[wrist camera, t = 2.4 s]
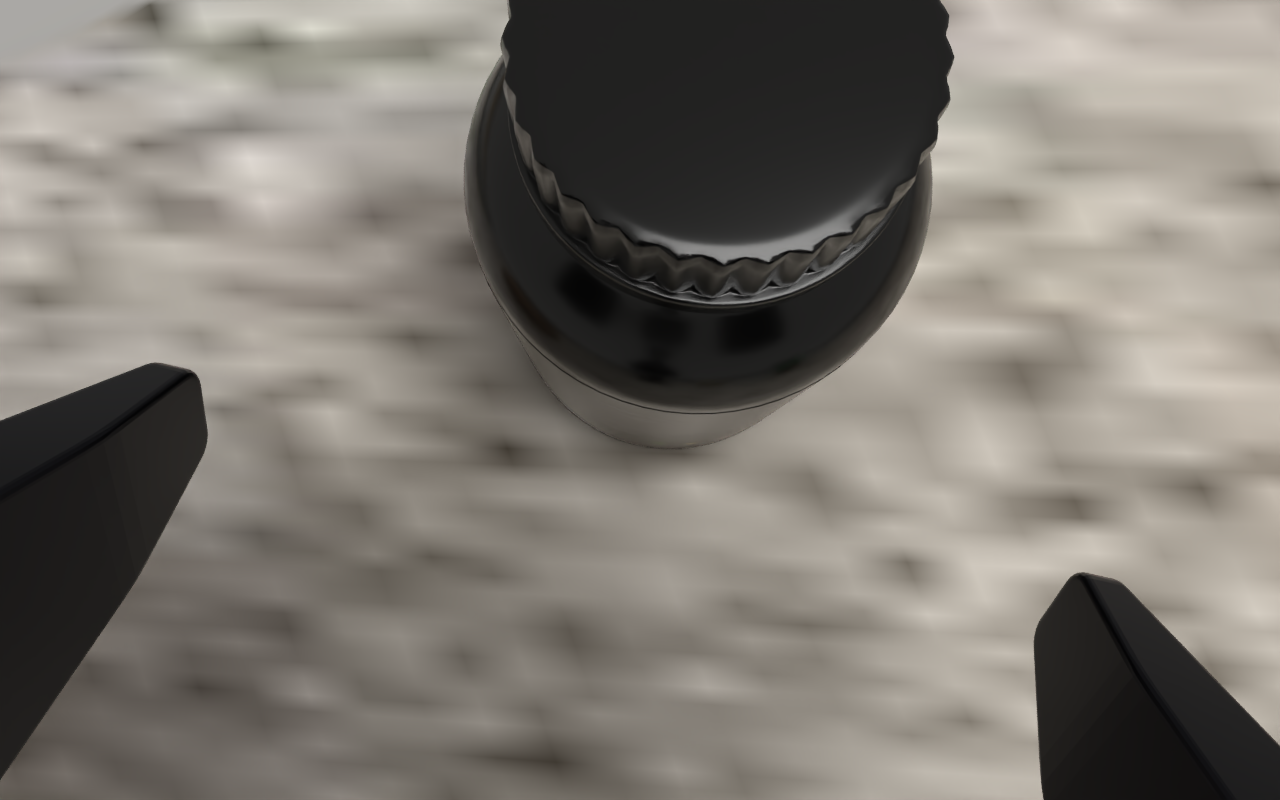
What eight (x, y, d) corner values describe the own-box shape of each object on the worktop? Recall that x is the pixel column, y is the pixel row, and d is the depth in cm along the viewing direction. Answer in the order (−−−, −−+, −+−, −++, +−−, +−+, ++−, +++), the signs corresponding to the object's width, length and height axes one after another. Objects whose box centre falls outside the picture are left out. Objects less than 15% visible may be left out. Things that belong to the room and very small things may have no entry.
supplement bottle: (507, 184, 22) (377, -238, 10) (791, 157, 22) (1002, -286, 10) (535, 472, 21) (428, 394, 9) (831, 439, 21) (1116, 321, 9)
